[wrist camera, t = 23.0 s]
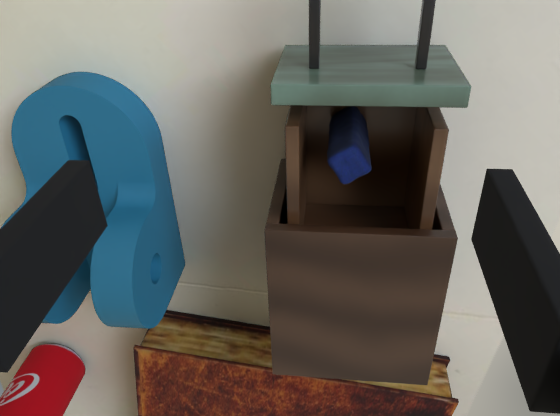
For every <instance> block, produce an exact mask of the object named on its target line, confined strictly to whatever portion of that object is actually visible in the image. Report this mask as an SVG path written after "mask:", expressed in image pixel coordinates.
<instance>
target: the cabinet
mask: <svg viewBox="0 0 560 416" xmlns="http://www.w3.org/2000/svg"><path fill="white" fill-rule="evenodd" d="M457 239H458V237H457V234H456V231H455V229H454V226H453V223H452V219H451V216H450V213H449V210H448V207H447V204H446V201H445V197H444V194H443V191H442V188H441V185H439V191H438V197H437V203H436V209H435V215H434V220H433V226H432V230H429V229H403V228H377V227H352V226H326V225H300V224H287V188H286V159H281V163H280V166H279V171H278V175H277V179H276V184H275V188H274V192H273V197H272V201H271V205H270V210H269V214H268V218H267V222H266V227H265V245H266V263H267V281H268V299H269V317H270V335H271V353H272V371H273V374H276V375H290V376H304V377H317V378H331V379H345V380H359V381H373V382H387V383H401V384H415V385H428V380H429V375H430V370H431V366H432V361H433V356H434V351H435V346H436V341H437V336H438V332H439V327H440V322H441V317H442V312H443V307H444V302H445V298H446V293H447V288H448V283H449V278H450V273H451V268H452V264H453V259H454V254H455V249H456V244H457Z"/></svg>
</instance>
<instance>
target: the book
mask: <svg viewBox="0 0 560 416" xmlns="http://www.w3.org/2000/svg"><path fill="white" fill-rule="evenodd" d="M134 361H135V375H136V389H137V403H138V416H452V414H453V412H454V410H455V408H456V407H457V405H458V403H459V401H458V399H456V398H452V394H451V389H450V384H449V380H448V375H447V370H446V368H447V366H448V363H449V361H450V358H449V357H447V356H441V355H435V354H434V356H433V361H432V366H431V370H430V375H429V380H428V385H415V384H401V383H387V382H373V381H359V380H345V379H331V378H317V377H304V376H290V375H276V374H273V371H272V353H271V335H270V327H265V326H259V325H253V324H247V323H241V322H235V321H229V320H223V319H216V318H210V317H204V316H198V315H192V314H186V313H180V312H174V311H168V310H166V312H165V314H164V316H163V318H162V320H161V321H160V322H159V324H158V325H157V326H155V327H154V328H151V329H148V330H147V332H146V335H145V337H144V339H143V341H142V344H141V346H139V345H135V346H134Z"/></svg>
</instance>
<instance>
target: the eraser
mask: <svg viewBox="0 0 560 416" xmlns="http://www.w3.org/2000/svg"><path fill="white" fill-rule="evenodd" d="M327 162H328V164H329V166H330V167H331V168H332V169H333V171H334V172H335V174H336V175H337V177H338V179H339V181H340V182H341V183H342V184H348V183H350V182H352V181H354V180H355V179H357V178H359V177H361V176H363V175H366V174H368V173H369V172H370V171H371V169H372V166H371V159H370V153H369V137H368V129H367V122H366V120H365V118H364V116H363V115H362V114H361V112H360V111H359V109H358V108H357V107H356V106H349V107H347V108H345V109H342V110H341V111H339V112H337V113H336V114H334V115H333V116H332V118H331V120H330V124H329V141H328V150H327Z"/></svg>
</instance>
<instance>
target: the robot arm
mask: <svg viewBox="0 0 560 416" xmlns="http://www.w3.org/2000/svg"><path fill="white" fill-rule="evenodd" d="M107 226H108V225H107V221H106V218H105V214H104V211H103V207H102V204H101V200H100V197H99V193H98V190H97V186H96V183H95V179H94V175H93V172H92V168H91V165H90V161H89V160H68V161H67V162H66V163H65V164H64V165H63V166H62V167H61V168H60V169H59V170H58V171H57V172H56V173H55V174H54V175H53V176H52V177H51V178H50V179H49V180H48V181H47V182H46V183H45V184H44V185H43V186H42V187H41V188H40V189H39V190H38V191H37V192H36V193H35V194H34V195H33V196H32V197H31V198H30V200H29V201H28V202H27V203H26V204H25V205H24V206H23V207H22V208H21V209H20V210H19V211H18V212H17V213H16V214H15V215H14V216H13V217H12V218H11V219H10V220H9V221H8V222H7V223H6V224H5V225H4V226H3V227H2V228H1V229H0V372H8V371H9V369H10V368H11V366H12V365H13V364H14V362H15V361H16V359H17V358H18V356H19V355H20V353H21V352H22V350H23V349H24V347H25V346H26V344H27V343H28V342H29V340H30V339H31V337H32V336H33V334H34V333H35V331H36V330H37V328H38V327H39V325H40V324H41V323H42V321H43V320H44V318H45V317H46V315H47V314H48V312H49V311H50V309H51V308H52V306H53V305H54V304H55V302H56V301H57V299H58V298H59V296H60V295H61V293H62V292H63V290H64V289H65V287H66V286H67V284H68V283H69V282H70V280H71V279H72V277H73V276H74V274H75V273H76V271H77V270H78V268H79V267H80V265H81V264H82V263H83V261H84V260H85V258H86V257H87V255H88V254H89V252H90V251H91V249H92V248H93V246H94V245H95V243H96V242H97V241H98V239H99V238H100V236H101V235H102V233H103V232H104V230H105V229H106V227H107ZM472 242H473V245H474V248H475V251H476V254H477V257H478V260H479V263H480V266H481V269H482V272H483V275H484V278H485V281H486V284H487V286H488V289H489V292H490V295H491V298H492V301H493V304H494V307H495V310H496V313H497V316H498V319H499V322H500V325H501V328H502V331H503V334H504V337H505V339H506V342H507V345H508V348H509V351H510V354H511V357H512V360H513V363H514V366H515V369H516V372H517V375H518V378H519V381H520V384H521V387H522V389H523V392H524V395H525V398H526V401H527V404H528V407H529V410H530V411H533V412H546V413H560V254H559V252H558V250H557V248H556V246H555V245H554V243H553V241H552V239H551V237H550V236H549V234H548V232H547V230H546V228H545V227H544V225H543V223H542V221H541V220H540V218H539V216H538V214H537V212H536V211H535V209H534V207H533V205H532V203H531V202H530V200H529V198H528V196H527V194H526V193H525V191H524V189H523V187H522V186H521V184H520V182H519V180H518V178H517V177H516V175H515V173H514V171H513V169H487V171H486V175H485V180H484V184H483V189H482V193H481V198H480V202H479V207H478V212H477V216H476V221H475V225H474V230H473V234H472Z"/></svg>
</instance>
